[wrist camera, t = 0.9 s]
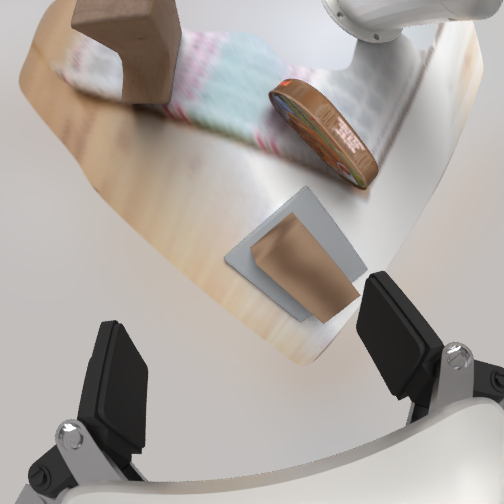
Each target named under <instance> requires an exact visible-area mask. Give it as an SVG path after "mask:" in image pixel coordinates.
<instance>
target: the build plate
mask: <svg viewBox="0 0 504 504" xmlns="http://www.w3.org/2000/svg"><path fill="white" fill-rule="evenodd" d="M291 212H293V213H294V214H295V216H296V217H297V218H298V219H299V220H300V221H301V223H302V224H303V225H304V226H305V227H306V228H307V230H308V231H309V232H310V233H311V234H312V235H313V237H314V238H315V239H316V240H317V241H318V243H319V244H320V245H321V246H322V247H323V249H324V250H325V251H326V252H327V253H328V255H329V256H330V257H331V258H332V260H333V261H334V262H335V263H336V265H337V266H338V267H339V268H340V269H341V271H342V272H343V273H344V274H345V276H346V277H347V278H348V280H349V281H350V282H351V283H352V282H353V281H355V280H356V279H357V278H358V277H359V276H361V275H362V274H363V273H364V272H365V271H367V270H368V269H367V267H366V266H365V264H364V263H363V261H362V260H361V258H360V257H359V255H358V254H357V253H356V251H355V250H354V248H353V247H352V245H351V244H350V243H349V241H348V240H347V238H346V237H345V235H344V234H343V233H342V231H341V230H340V229H339V227H338V226H337V224H336V223H335V222H334V220H333V219H332V218H331V216H330V215H329V214H328V212H327V211H326V210H325V208H324V207H323V206H322V204H321V203H320V202H319V200H318V199H317V198H316V197H315V195H314V194H313V193H312V191H311V190H310V189H309V188H308V187H307V186H305V187H303V188H302V189H301V190H300V191H299V192H298V193H296V194H295V195H294V196H293V197H292V198H291V199H289V200H288V201H287V202H286V203H285V204H284V205H283V206H281V207H280V208H279V209H278V210H277V211H276V212H274V213H273V214H272V215H271V216H270V217H269V218H267V219H266V220H265V221H264V222H263V223H262V224H261V225H259V226H258V227H257V228H256V229H255V230H254V231H253V232H251V233H250V234H249V235H248V236H247V237H246V238H245V239H243V240H242V241H241V242H240V243H239V244H238V245H237V246H235V247H234V248H233V249H232V250H231V251H230V252H229V253H227V254H226V255H225V256H224V257H225V261H227V262H228V263H229V264H230V265H231V266H233V267H234V268H235V269H236V270H237V271H239V272H240V273H241V274H242V275H243V276H245V277H246V278H247V279H248V280H249V281H251V282H252V283H253V284H254V285H256V286H257V287H258V288H259V289H260V290H262V291H263V292H264V293H265V294H267V295H268V296H269V297H270V298H271V299H273V300H274V301H275V302H276V303H278V304H279V305H280V306H281V307H283V308H284V309H285V310H286V311H287V312H289V313H290V314H291V315H292V316H294V317H295V318H296V319H297V320H299V321H300V322H302V321H304V320H305V319H306V318H308V317H309V316H310V315H312V313H311V312H310V311H308V310H307V309H306V308H305V307H304V306H303V305H302V304H301V303H299V302H298V301H297V300H296V299H295V298H294V297H293V296H291V295H290V294H289V293H288V292H287V291H286V290H285V289H284V288H282V287H281V286H280V285H279V284H278V283H277V282H276V281H275V280H273V279H272V278H271V277H270V276H269V275H268V274H267V273H265V272H264V271H263V270H262V269H261V268H260V267H259V266H258V265H256V262H255V259H254V257H253V254H252V251H251V248H250V247H251V246H253V245H254V244H255V243H256V242H257V241H258V240H260V239H261V238H262V237H263V236H264V235H265V234H267V233H268V232H269V231H270V230H271V229H272V228H273V227H275V226H276V225H277V224H278V223H279V222H280V221H282V220H283V219H284V218H285V217H286V216H287V215H289V214H290V213H291Z"/></svg>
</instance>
